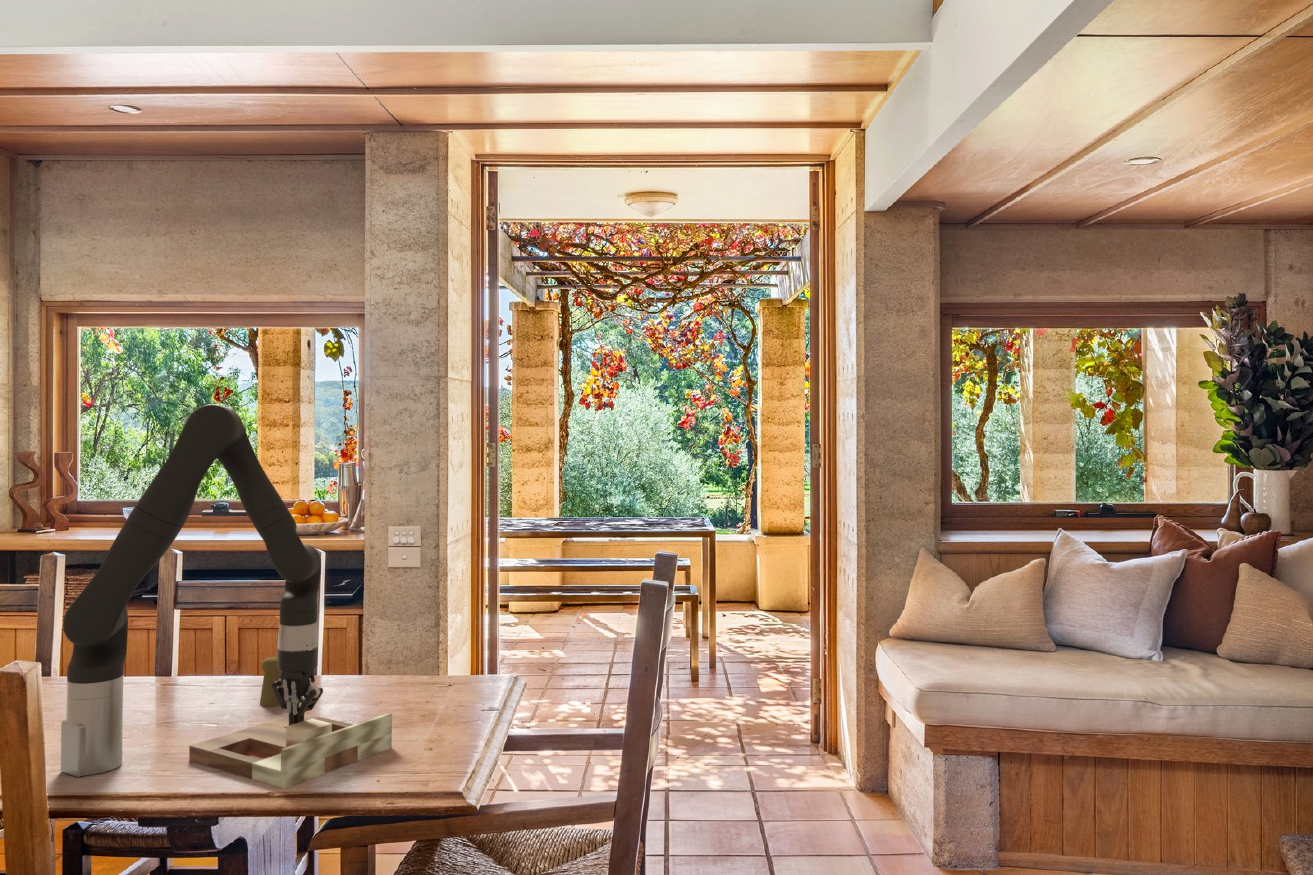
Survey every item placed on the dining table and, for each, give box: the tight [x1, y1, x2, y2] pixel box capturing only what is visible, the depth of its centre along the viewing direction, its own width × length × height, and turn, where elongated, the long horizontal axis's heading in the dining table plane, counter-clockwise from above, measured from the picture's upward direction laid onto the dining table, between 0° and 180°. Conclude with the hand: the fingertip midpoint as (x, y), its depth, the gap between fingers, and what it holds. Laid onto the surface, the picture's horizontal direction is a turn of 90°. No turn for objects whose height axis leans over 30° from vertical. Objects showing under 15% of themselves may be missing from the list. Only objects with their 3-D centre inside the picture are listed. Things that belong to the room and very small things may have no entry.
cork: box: [259, 656, 286, 708], centre depth 218 cm, size 6×6×11 cm
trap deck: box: [188, 712, 393, 790], centre depth 182 cm, size 26×28×7 cm
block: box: [286, 719, 332, 747], centre depth 179 cm, size 6×6×4 cm
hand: (296, 731), depth 182 cm, fingers closed
